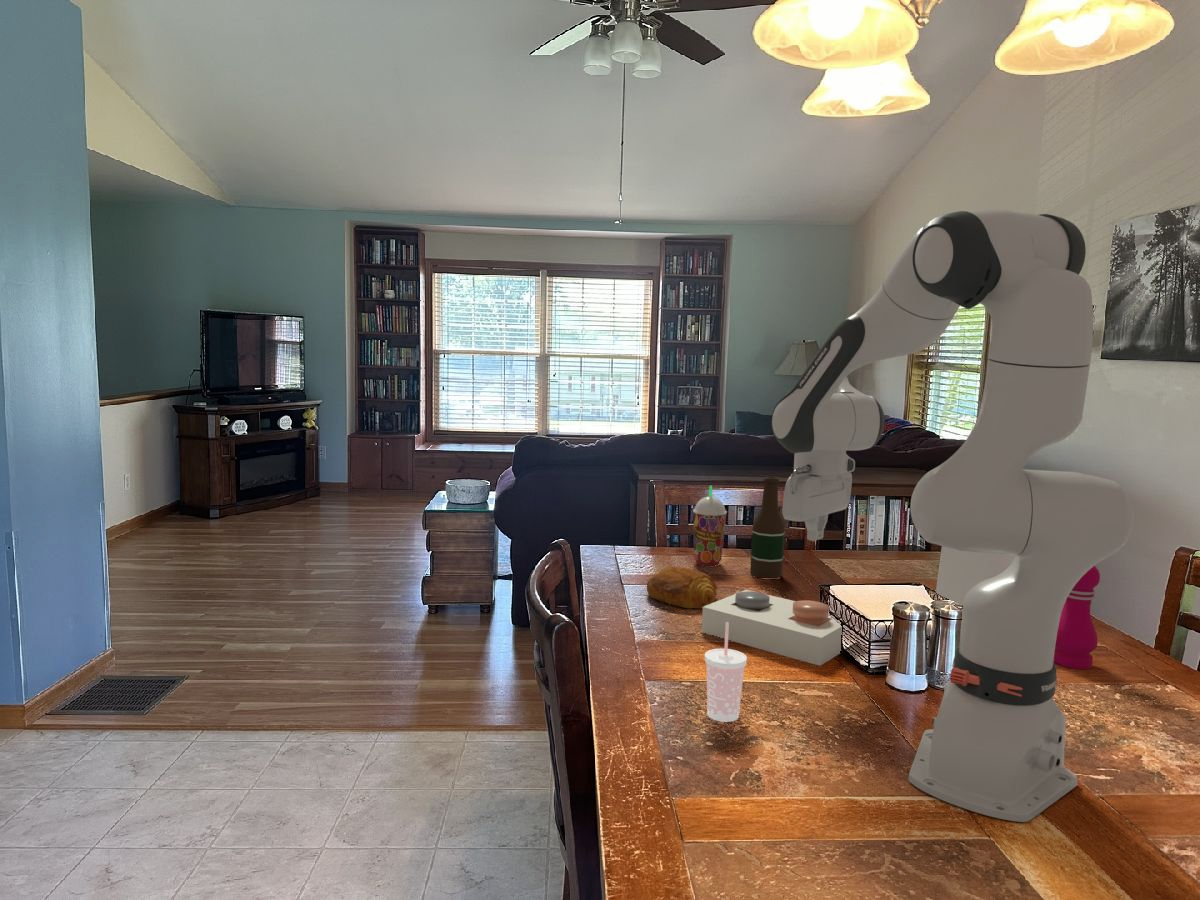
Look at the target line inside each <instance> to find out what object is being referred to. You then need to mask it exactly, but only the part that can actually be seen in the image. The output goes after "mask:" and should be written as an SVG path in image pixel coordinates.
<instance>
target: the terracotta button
mask: <svg viewBox="0 0 1200 900" xmlns="http://www.w3.org/2000/svg"><path fill="white" fill-rule="evenodd" d="M795 601H796V600H795ZM829 609H830V607H829V605H828V604H827V603H823V602H821V601H816V600H806V599H805V600H803V599H802V600H797V601H796V602H794V603H793V611H792V612H793V614H794V615H796V621H798V622H802V623H806V624H810V625H814V626H817V627H819V626H820V625H822V624H824V619H825V618H827V617H828V616H829Z"/></svg>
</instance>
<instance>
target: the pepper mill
mask: <svg viewBox="0 0 1200 900" xmlns="http://www.w3.org/2000/svg"><path fill="white" fill-rule="evenodd" d="M1100 580H1101V574H1100V571H1099V569H1098V567H1097V566H1096V565H1094V566H1093V567H1092V568H1091V569H1090V570H1089V571H1087V572H1086V573H1085V574H1084V575H1083V576H1082V577H1081V579H1080V580H1079V581H1078V582H1077V583H1076V585H1075V586H1074V587H1073V589H1072V590H1071V592H1070V594H1069V595H1068V597H1067V599H1066V601H1065V604H1064V606H1063V609H1062V612H1061V616H1060V621H1059V626H1058V631H1057V637H1056V644H1055V652H1054V661H1053V663H1054V664H1057V665H1059V666H1062V667H1064V668H1065V667H1066V668H1070V669H1074V670H1075V669H1076V670H1088V669H1091V668H1092V667H1093V658H1094V657H1093V656H1092V654H1091V653H1092V652H1093V651H1095V649H1097V647H1098V635H1097V631H1096V627H1095V626H1094V623H1093V621H1092V620H1093V619H1092V616H1091V604H1092V600H1094V599H1095V598H1096V596H1095V593H1096V591H1095V588H1096V587H1097V586H1098V585H1099V583H1100Z"/></svg>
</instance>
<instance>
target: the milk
mask: <svg viewBox="0 0 1200 900" xmlns="http://www.w3.org/2000/svg"><path fill="white" fill-rule="evenodd" d="M940 549H941V550H940V555H939V556H940V559H939V563H938V564H939V566H938V572H937V580H936V587H935V594H936V593H937V594H939V595H941V596H943V597H945V598H947V599H949V600H951V601H954V602H956V603H959V604H962V605H963V601H964V598H965V596H966V595H967V593H968V592H969V591H970V590H971V589H972V588H973V587H974V586H975V585H976V584H978V583H980V582H982V581H984V580H987V579H989V578H992V577H995V576H997V575H999V574H1001V573H1002V572H1004V571H1005V570H1006V569H1007V568H1008V567H1009V566H1010V565H1011V563H1012V562H1013V560H1014V558H1015V555H1013V554H998V553H983V552H967V551H960V550H956V549H951V548H947V547H943V546H941V548H940Z"/></svg>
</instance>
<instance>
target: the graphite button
mask: <svg viewBox="0 0 1200 900" xmlns="http://www.w3.org/2000/svg"><path fill="white" fill-rule="evenodd" d="M735 594H736V593H735ZM768 595H769V594H767V593H762V592H758V591H754V592H741V591H739V592H737V594H736V597H735V604H736V605H738V606H739V607H742V608H746V609H750V610H754V611H761V610H763V609H765V608H767V607H769V599H770V597H769V596H768Z"/></svg>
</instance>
